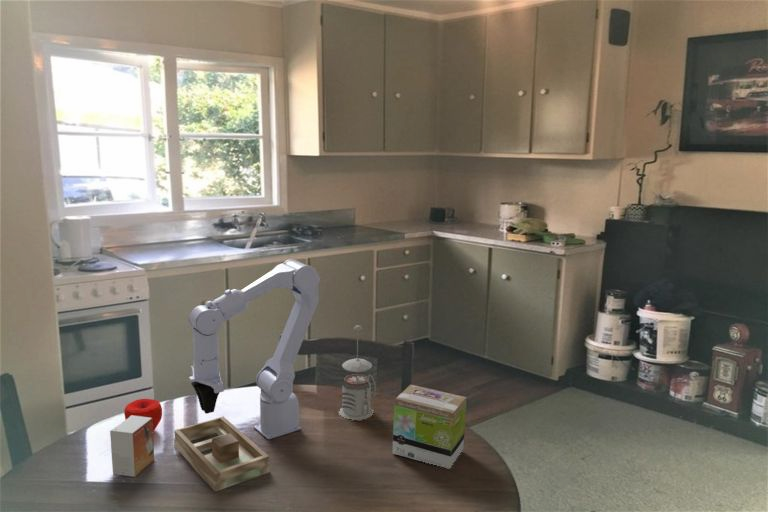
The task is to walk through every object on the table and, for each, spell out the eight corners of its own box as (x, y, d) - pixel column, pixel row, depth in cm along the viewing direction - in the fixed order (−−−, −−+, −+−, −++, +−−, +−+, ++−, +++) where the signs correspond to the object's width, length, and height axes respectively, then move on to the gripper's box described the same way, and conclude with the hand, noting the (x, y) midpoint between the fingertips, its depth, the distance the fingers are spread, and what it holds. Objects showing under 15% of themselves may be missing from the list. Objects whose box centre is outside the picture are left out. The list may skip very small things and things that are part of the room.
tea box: (391, 455, 145) (392, 397, 142) (407, 437, 154) (409, 382, 151) (450, 471, 139) (453, 411, 136) (464, 451, 148) (467, 395, 145)
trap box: (224, 430, 155) (224, 416, 154) (270, 472, 137) (269, 455, 136) (174, 445, 147) (173, 430, 146) (215, 491, 129) (214, 474, 128)
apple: (170, 429, 155) (169, 400, 153) (142, 444, 147) (141, 414, 146) (145, 421, 159) (144, 393, 157) (117, 435, 151) (115, 405, 150)
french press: (358, 401, 174) (360, 317, 169) (386, 415, 166) (388, 327, 161) (331, 411, 167) (332, 324, 162) (358, 426, 159) (360, 335, 154)
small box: (134, 478, 133) (132, 433, 131) (112, 474, 134) (109, 430, 132) (155, 459, 141) (153, 417, 139) (133, 456, 142) (131, 414, 140)
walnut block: (230, 448, 142) (230, 433, 141) (239, 457, 139) (238, 440, 138) (212, 454, 139) (211, 438, 139) (220, 463, 136) (219, 446, 135)
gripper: (177, 351, 145) (180, 404, 148) (201, 370, 134) (203, 427, 137) (206, 345, 150) (207, 397, 152) (231, 363, 139) (233, 418, 141)
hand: (207, 410), depth 145 cm, fingers closed
